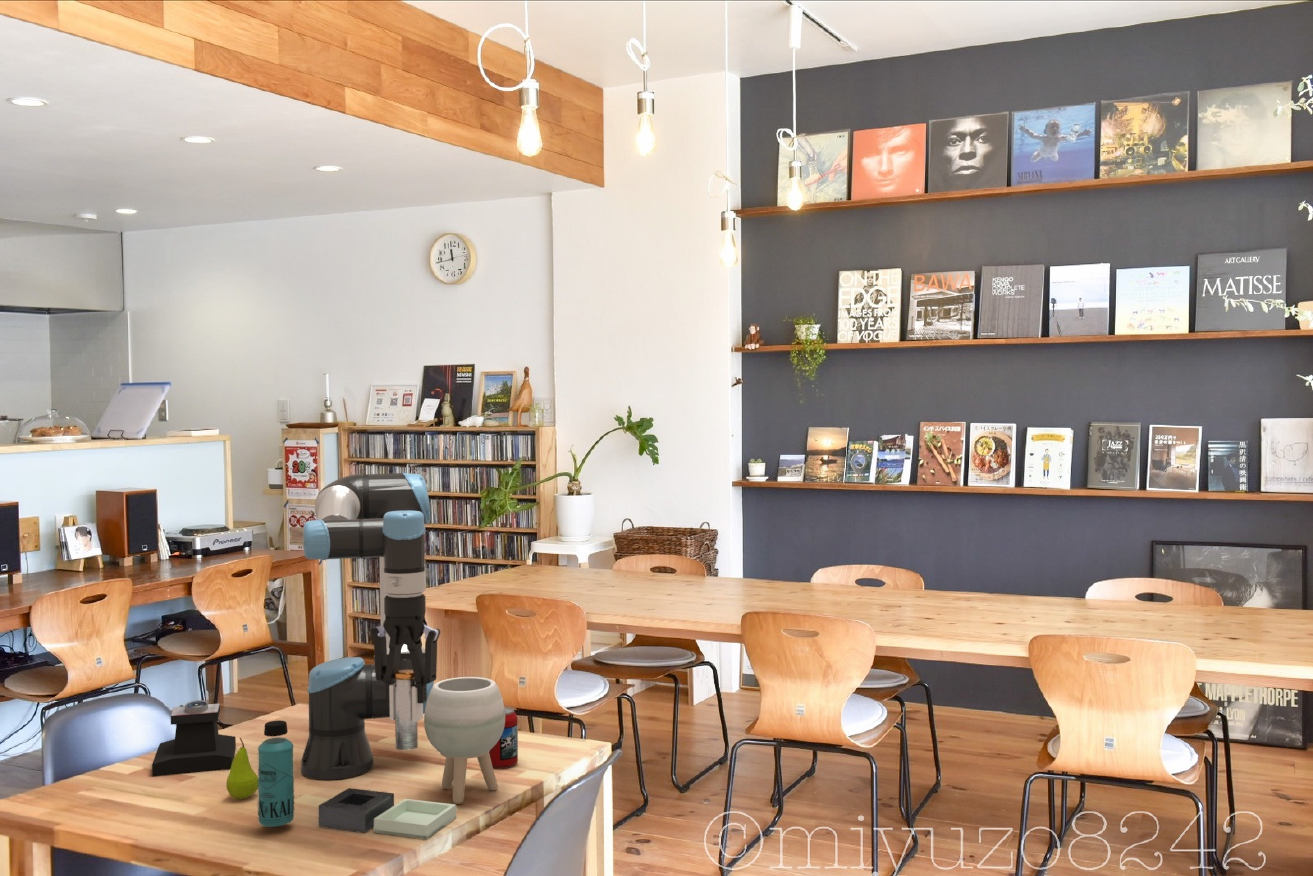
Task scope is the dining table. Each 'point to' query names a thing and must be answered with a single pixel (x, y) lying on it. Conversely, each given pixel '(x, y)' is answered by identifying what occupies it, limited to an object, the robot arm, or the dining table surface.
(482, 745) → the planter
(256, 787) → the fruit
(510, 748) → the beverage can
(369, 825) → the collar
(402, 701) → the pin
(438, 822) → the tray
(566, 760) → the dining table surface
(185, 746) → the black pedestal stand
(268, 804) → the beverage bottle
